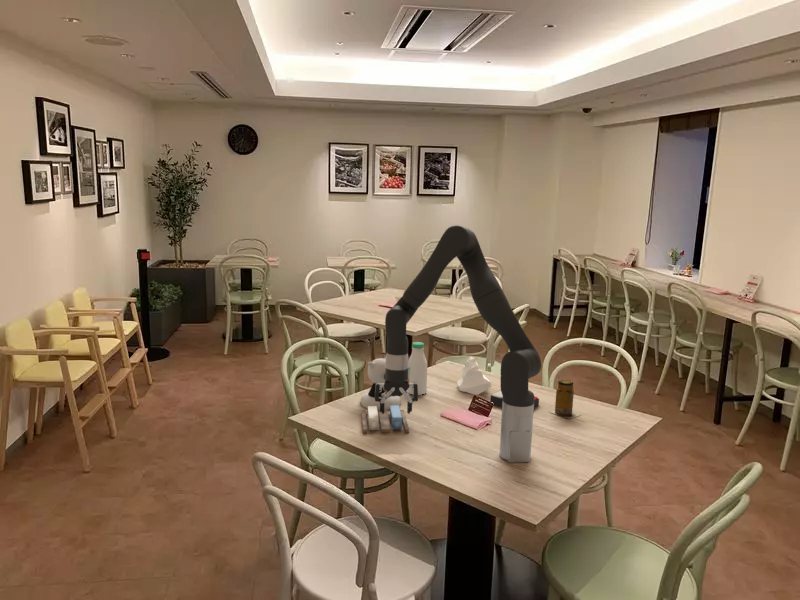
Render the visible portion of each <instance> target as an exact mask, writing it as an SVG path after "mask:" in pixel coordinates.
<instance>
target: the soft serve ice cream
mask: <svg viewBox="0 0 800 600" xmlns="http://www.w3.org/2000/svg"><path fill="white" fill-rule="evenodd" d="M461 370H462V375H461V378H460V379H458V381H456V384H457V388H458V389H459V392H464V393H469V394H471V395H476V396H478V395H480V394H482V393H483V392H485V391H486V390H488V389H489V388H491V387H492V384H491V383H492V382H491V381H490V380H489V379H488V378H487V377H486V376H485V375H484V373H483V372H482V371H481V370H480V367H479V364H478V362H477V360H476V358H475V357H474V356H469V358H468V359H467V360H466V361H465V363H464V366H463V367H462V369H461Z"/></svg>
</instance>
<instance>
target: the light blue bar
mask: <svg viewBox="0 0 800 600" xmlns="http://www.w3.org/2000/svg"><path fill="white" fill-rule="evenodd" d="M400 408H401V407H400V405H393V406H390V409H389V414H390V419H391V424H392V429H402V416H401V412H400V410H401V409H400Z"/></svg>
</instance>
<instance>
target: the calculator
mask: <svg viewBox="0 0 800 600" xmlns="http://www.w3.org/2000/svg"><path fill="white" fill-rule="evenodd" d="M489 398H490V399H489V403H490V402H493V403H494V405H493V406H495V407H501V408H502V403H503V395H502V392H501V389H500V390H498V391H497V392H495V393H493V394H491V395H490V397H489ZM539 404H540V398H539V397H537V396H535V395H534V409H536V408H537V407H538V406H540V405H539Z"/></svg>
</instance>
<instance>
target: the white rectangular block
mask: <svg viewBox="0 0 800 600" xmlns="http://www.w3.org/2000/svg"><path fill="white" fill-rule="evenodd" d="M367 414H368V425H369V430H378V420H379V418H378V410H377V406H368V408H367Z"/></svg>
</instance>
